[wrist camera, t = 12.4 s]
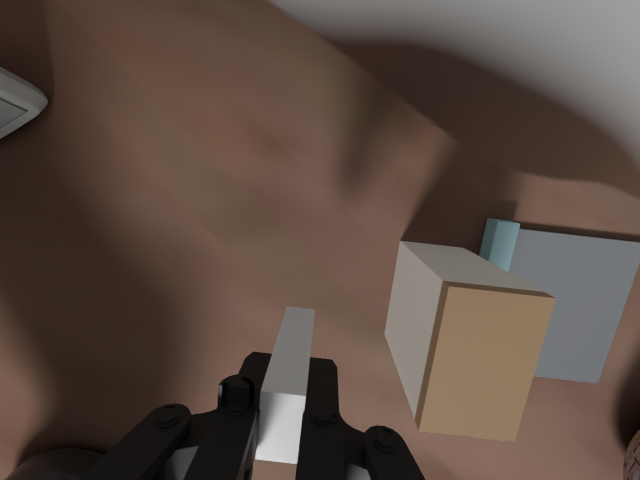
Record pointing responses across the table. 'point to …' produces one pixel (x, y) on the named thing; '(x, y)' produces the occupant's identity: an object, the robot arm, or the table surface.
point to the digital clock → (18, 102)
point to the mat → (577, 296)
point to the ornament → (632, 459)
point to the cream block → (464, 340)
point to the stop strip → (499, 242)
